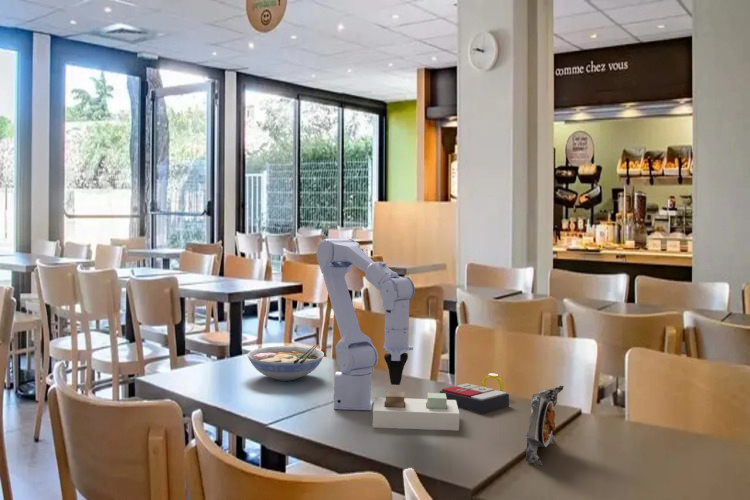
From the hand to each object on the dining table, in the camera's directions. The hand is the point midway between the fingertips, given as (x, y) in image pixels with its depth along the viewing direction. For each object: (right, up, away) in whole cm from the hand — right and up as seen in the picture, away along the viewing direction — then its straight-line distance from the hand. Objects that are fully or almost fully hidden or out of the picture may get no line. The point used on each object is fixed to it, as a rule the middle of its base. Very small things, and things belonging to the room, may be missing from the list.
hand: (395, 384), depth 161 cm
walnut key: (0, -6, 0) cm, 6 cm away
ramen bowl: (-31, -6, +39) cm, 50 cm away
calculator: (+21, -9, +17) cm, 29 cm away
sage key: (+10, -6, 0) cm, 12 cm away
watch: (+28, -8, +25) cm, 38 cm away
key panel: (+5, -9, 0) cm, 10 cm away
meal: (+31, -11, -19) cm, 38 cm away
